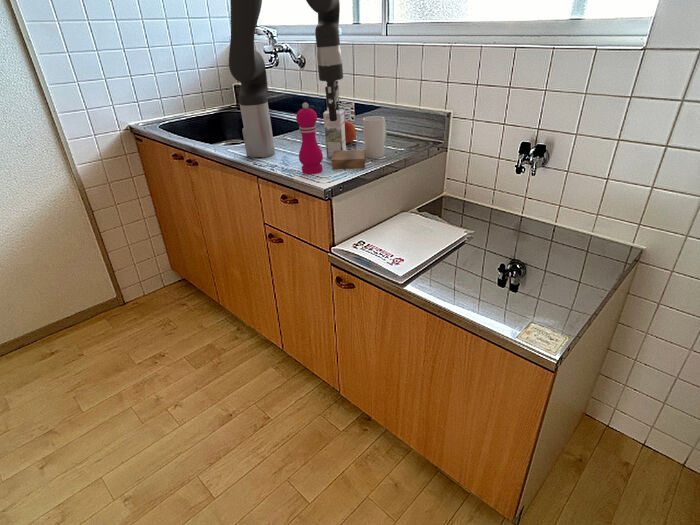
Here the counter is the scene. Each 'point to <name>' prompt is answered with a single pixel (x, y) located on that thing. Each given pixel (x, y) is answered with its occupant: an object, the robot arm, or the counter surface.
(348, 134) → the fruit
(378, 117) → the mug
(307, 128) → the pepper mill
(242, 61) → the robot arm
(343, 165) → the walnut base
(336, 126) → the syrup box
